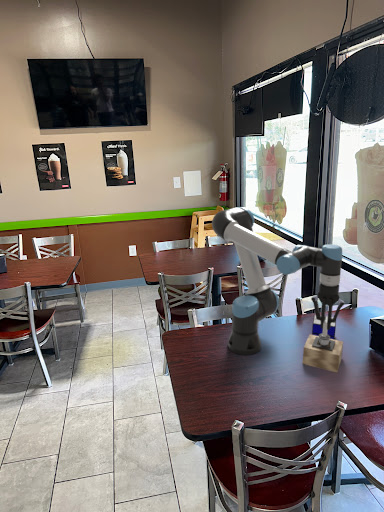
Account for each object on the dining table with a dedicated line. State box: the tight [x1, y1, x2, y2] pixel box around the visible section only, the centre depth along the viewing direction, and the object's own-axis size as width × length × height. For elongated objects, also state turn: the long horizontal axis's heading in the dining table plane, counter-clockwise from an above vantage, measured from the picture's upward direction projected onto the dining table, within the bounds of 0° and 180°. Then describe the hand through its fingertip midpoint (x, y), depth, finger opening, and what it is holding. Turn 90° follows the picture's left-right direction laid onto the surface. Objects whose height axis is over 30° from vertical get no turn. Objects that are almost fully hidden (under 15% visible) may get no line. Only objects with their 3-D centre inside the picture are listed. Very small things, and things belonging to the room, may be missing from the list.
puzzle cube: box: [311, 314, 337, 340], centre depth 169 cm, size 10×10×10 cm
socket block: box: [302, 333, 344, 374], centre depth 152 cm, size 14×12×9 cm
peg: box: [319, 333, 330, 347], centre depth 151 cm, size 4×4×8 cm
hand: (324, 335), depth 150 cm, fingers closed
